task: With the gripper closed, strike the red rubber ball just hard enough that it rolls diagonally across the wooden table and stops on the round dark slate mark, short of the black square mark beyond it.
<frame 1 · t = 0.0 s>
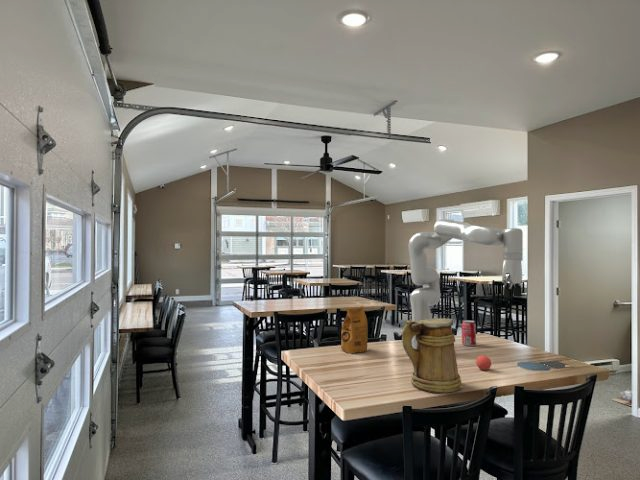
hand: (512, 297, 179), 31 cm above the table, tool pointing down, fingers open, 9 cm apart
soda can: (468, 345, 225), on the table
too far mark: (556, 364, 188), on the table
tankard: (430, 386, 158), on the table
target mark: (533, 366, 186), on the table
ball: (483, 362, 180), on the table
coffee package: (354, 351, 211), on the table
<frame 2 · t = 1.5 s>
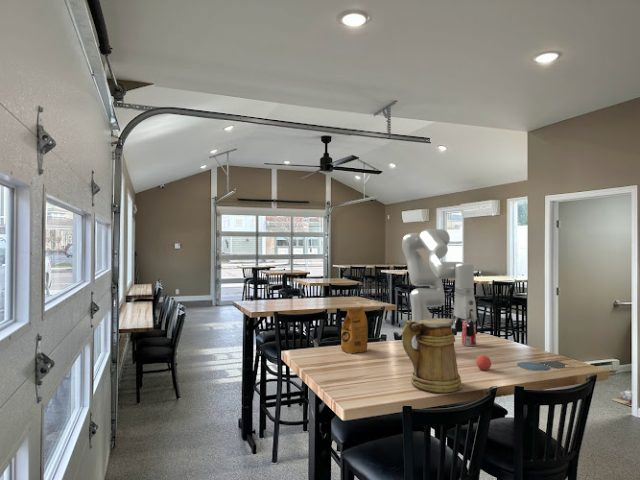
hand: (464, 333, 178), 16 cm above the table, tool pointing down, fingers open, 7 cm apart
nothing on the table moved.
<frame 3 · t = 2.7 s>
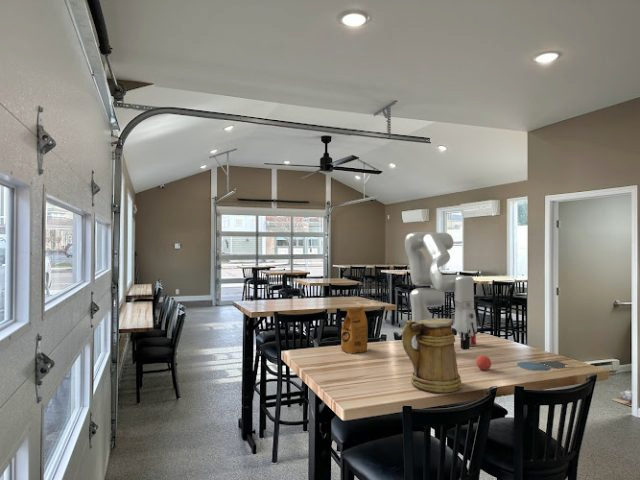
hand: (465, 348, 177), 10 cm above the table, tool pointing down, fingers closed
nothing on the table moved.
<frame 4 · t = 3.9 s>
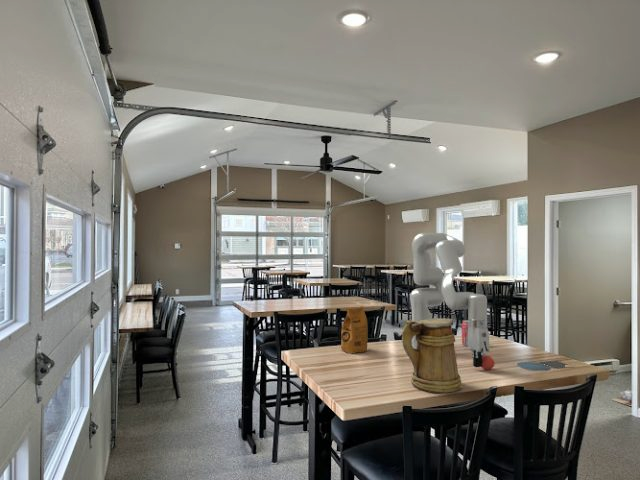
hand: (477, 366, 179), 2 cm above the table, tool pointing down, fingers closed
ball: (486, 362, 180), on the table
everything else where it was.
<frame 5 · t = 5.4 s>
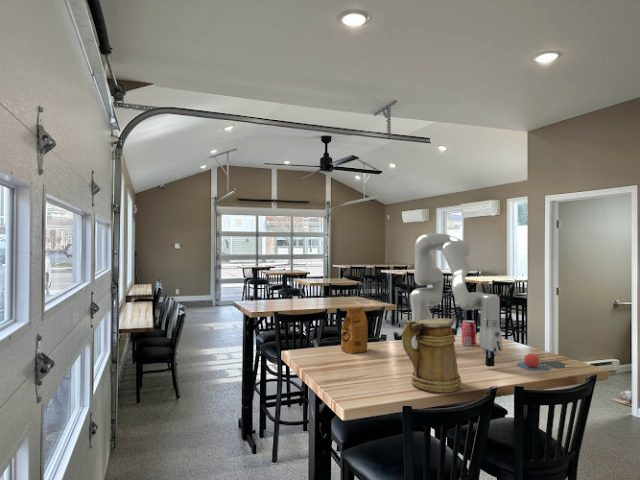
hand: (489, 365, 181), 2 cm above the table, tool pointing down, fingers closed
ball: (531, 360, 184), on the table
everything else where it was.
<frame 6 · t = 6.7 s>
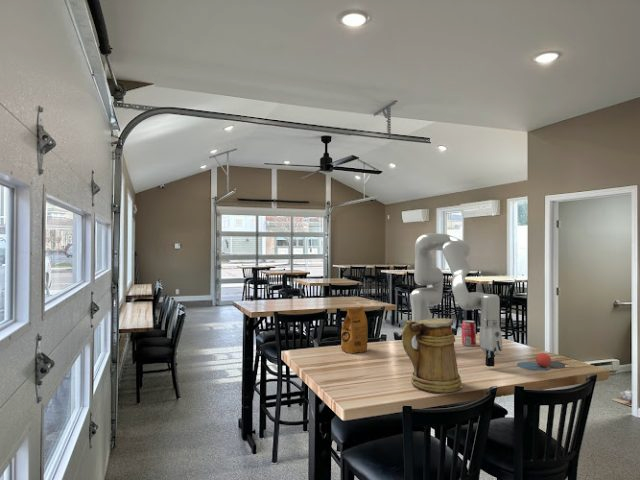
hand: (489, 365, 181), 2 cm above the table, tool pointing down, fingers closed
ball: (543, 360, 185), on the table
everything else where it was.
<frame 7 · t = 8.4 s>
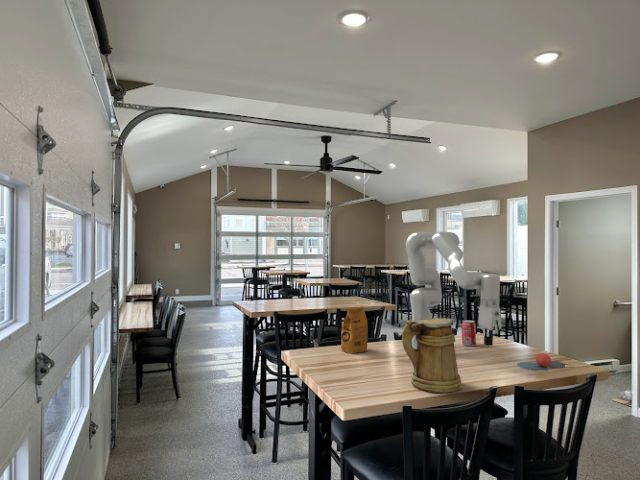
hand: (488, 344, 181), 10 cm above the table, tool pointing down, fingers closed
nothing on the table moved.
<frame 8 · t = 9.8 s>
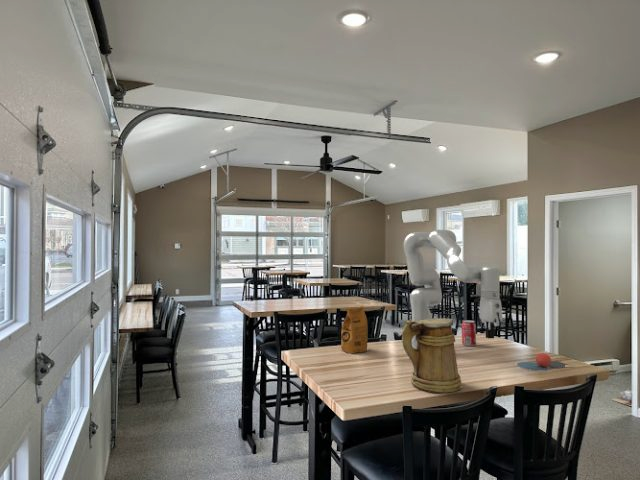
hand: (489, 337, 181), 13 cm above the table, tool pointing down, fingers closed
nothing on the table moved.
at the end: ball 4.0 cm from the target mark (horizontally); ball at rest at the end (0.0 cm/s); ball moved 28.6 cm from its start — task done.
